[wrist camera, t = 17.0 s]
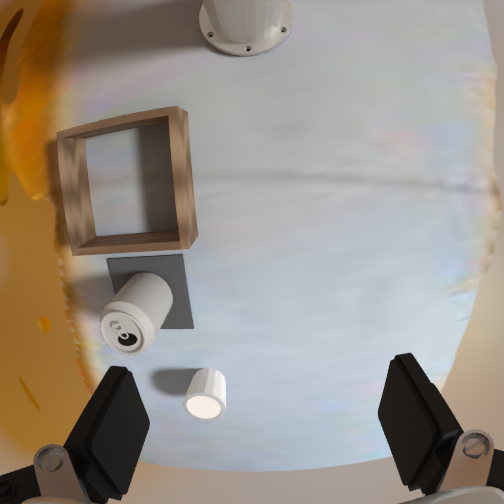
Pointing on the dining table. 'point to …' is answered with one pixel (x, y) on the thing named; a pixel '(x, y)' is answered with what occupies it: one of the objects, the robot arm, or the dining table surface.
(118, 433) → the robot arm
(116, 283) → the mat
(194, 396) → the shot glass
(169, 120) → the crate
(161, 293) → the can
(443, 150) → the dining table surface
